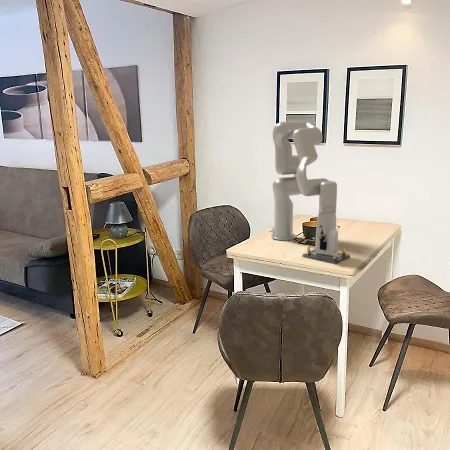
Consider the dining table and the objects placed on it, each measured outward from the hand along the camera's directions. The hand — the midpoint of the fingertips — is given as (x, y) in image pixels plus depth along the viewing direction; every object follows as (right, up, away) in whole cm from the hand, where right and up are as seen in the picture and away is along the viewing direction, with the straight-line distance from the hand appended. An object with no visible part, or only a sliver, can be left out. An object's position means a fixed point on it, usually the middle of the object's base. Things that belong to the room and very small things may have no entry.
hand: (326, 247), depth 214 cm
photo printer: (0, -3, +1) cm, 3 cm away
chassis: (0, -4, +1) cm, 4 cm away
